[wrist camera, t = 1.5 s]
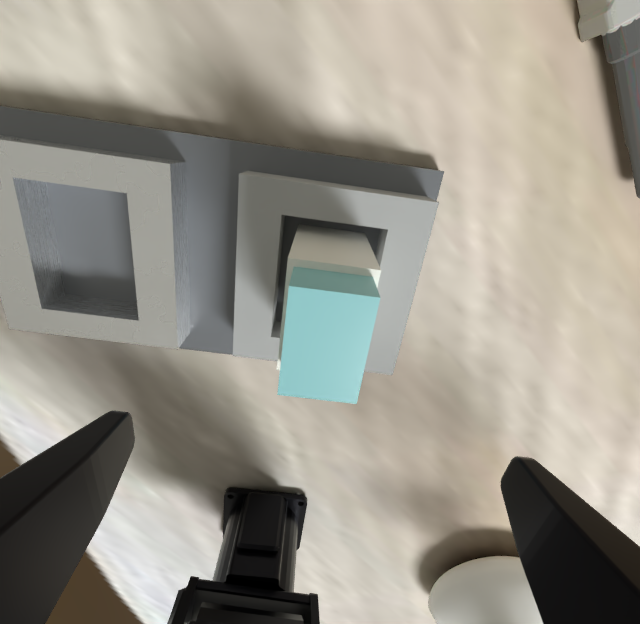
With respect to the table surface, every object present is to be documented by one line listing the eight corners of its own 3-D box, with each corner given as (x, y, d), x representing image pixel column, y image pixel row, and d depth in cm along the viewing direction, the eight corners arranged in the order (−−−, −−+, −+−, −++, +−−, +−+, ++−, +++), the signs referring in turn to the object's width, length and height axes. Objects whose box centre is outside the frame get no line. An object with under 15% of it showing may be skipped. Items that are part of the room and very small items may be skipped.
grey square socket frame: (427, 196, 18) (438, 202, 16) (387, 356, 22) (392, 375, 20) (247, 170, 17) (239, 173, 16) (240, 338, 22) (232, 355, 20)
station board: (439, 170, 18) (444, 171, 17) (388, 366, 23) (390, 373, 22) (-9, 104, 17) (-23, 102, 16) (41, 324, 22) (32, 330, 21)
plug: (364, 233, 19) (390, 290, 11) (348, 317, 21) (361, 410, 14) (298, 224, 19) (281, 276, 11) (289, 310, 21) (270, 400, 13)
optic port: (186, 161, 17) (169, 163, 16) (190, 331, 21) (177, 349, 20) (-5, 134, 17) (-45, 133, 15) (36, 313, 21) (9, 329, 19)
